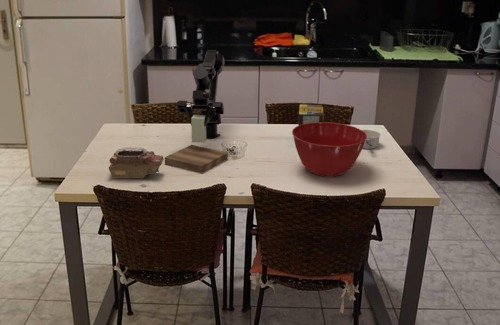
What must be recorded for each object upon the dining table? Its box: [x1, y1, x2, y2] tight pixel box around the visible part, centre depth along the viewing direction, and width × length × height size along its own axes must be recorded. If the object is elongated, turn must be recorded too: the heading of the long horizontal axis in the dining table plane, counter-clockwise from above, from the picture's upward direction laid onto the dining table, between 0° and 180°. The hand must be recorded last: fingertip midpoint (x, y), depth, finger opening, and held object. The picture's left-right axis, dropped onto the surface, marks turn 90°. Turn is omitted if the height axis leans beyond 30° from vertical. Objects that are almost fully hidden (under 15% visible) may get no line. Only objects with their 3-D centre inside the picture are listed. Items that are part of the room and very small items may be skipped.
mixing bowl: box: [291, 121, 367, 178], centre depth 225 cm, size 28×28×16 cm
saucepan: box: [361, 129, 381, 150], centre depth 251 cm, size 12×20×6 cm, turn 175°
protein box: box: [297, 104, 324, 126], centre depth 256 cm, size 10×15×16 cm
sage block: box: [190, 114, 207, 144], centre depth 236 cm, size 5×5×10 cm
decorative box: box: [108, 147, 165, 179], centre depth 220 cm, size 13×20×10 cm, turn 83°
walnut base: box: [164, 144, 229, 174], centre depth 234 cm, size 18×18×3 cm
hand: (198, 125), depth 234 cm, fingers closed on sage block, 5 cm apart
